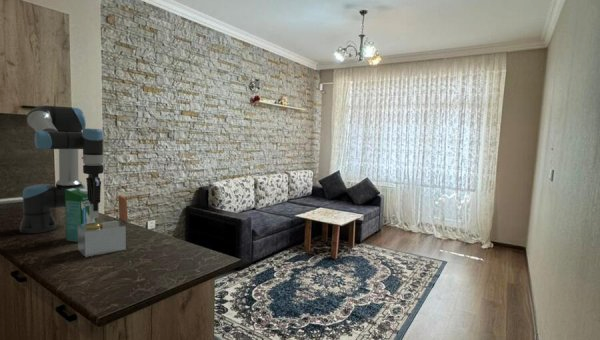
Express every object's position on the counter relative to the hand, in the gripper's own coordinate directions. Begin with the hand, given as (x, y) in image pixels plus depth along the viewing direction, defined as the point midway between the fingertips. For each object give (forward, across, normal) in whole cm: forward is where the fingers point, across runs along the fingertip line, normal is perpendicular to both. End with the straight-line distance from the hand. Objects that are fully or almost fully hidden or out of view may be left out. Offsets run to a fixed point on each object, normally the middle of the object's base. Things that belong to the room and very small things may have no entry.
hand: (94, 217), depth 147 cm
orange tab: (-2, 0, +13) cm, 13 cm away
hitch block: (+15, 0, +3) cm, 16 cm away
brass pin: (+15, 0, 0) cm, 15 cm away
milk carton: (+16, -22, 0) cm, 27 cm away
